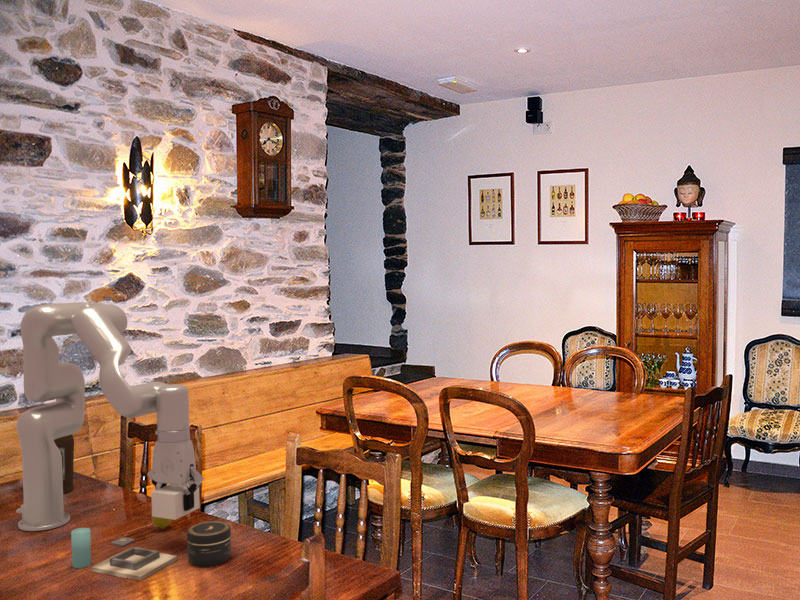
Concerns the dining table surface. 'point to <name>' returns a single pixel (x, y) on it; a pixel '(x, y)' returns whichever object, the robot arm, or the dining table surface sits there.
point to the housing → (171, 502)
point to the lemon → (161, 521)
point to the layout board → (135, 563)
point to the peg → (81, 547)
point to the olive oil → (66, 460)
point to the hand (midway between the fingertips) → (176, 507)
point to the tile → (123, 541)
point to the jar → (209, 543)
